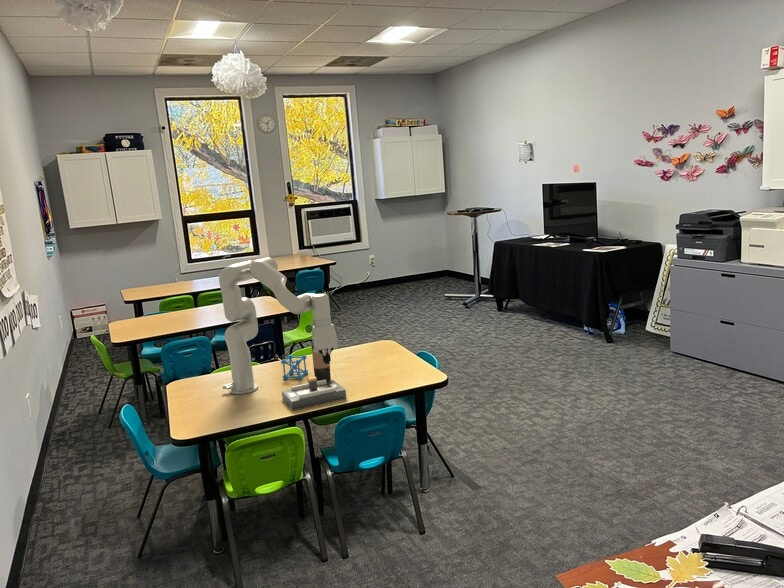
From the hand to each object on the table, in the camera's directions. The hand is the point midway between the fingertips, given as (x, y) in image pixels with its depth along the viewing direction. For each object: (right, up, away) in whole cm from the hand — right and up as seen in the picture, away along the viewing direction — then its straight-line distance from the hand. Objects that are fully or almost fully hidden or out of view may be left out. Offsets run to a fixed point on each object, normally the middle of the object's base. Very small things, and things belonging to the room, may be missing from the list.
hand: (327, 363), depth 258 cm
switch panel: (-6, -16, 0) cm, 17 cm away
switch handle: (-6, -11, -1) cm, 13 cm away
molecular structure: (-19, -11, +33) cm, 40 cm away
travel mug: (-4, -12, +19) cm, 23 cm away
